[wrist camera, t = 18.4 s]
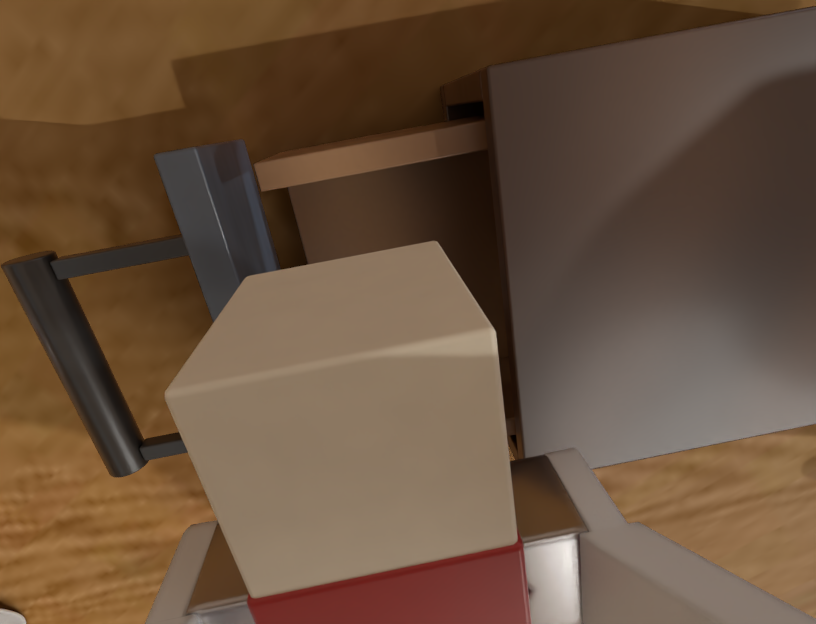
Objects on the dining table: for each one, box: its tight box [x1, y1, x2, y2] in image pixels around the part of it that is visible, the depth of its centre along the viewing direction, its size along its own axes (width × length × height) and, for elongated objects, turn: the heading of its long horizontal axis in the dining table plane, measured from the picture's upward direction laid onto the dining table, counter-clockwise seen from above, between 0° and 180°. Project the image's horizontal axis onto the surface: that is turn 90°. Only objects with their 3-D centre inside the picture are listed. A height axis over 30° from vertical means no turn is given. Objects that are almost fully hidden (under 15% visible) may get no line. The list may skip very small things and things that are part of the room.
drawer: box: [1, 115, 516, 477], centre depth 18 cm, size 20×12×6 cm, turn 100°
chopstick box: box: [165, 241, 531, 624], centre depth 8 cm, size 8×3×4 cm, turn 10°
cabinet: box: [440, 6, 816, 469], centre depth 18 cm, size 15×14×8 cm
